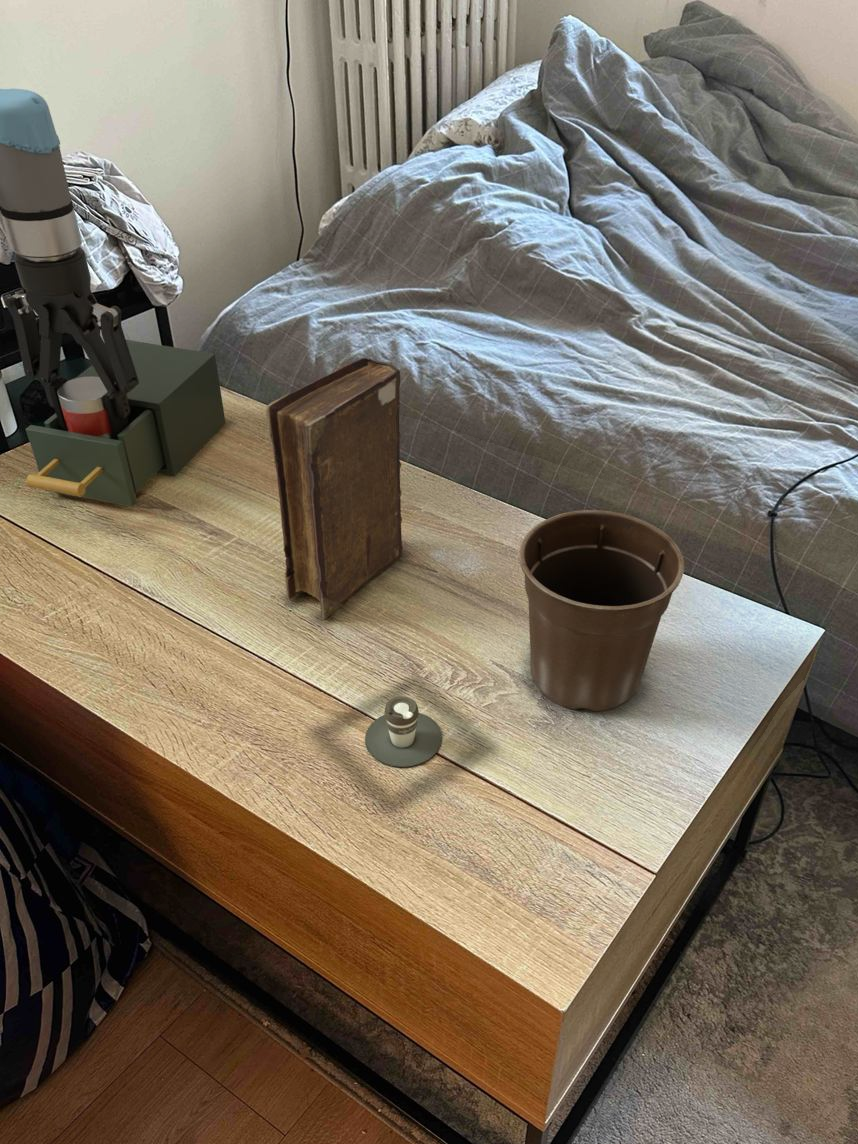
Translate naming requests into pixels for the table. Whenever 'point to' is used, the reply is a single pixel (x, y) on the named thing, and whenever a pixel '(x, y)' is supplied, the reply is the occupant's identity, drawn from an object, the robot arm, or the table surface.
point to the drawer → (97, 459)
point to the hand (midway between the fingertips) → (96, 433)
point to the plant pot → (595, 603)
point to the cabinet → (176, 398)
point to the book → (339, 480)
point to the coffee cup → (403, 735)
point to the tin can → (85, 407)
